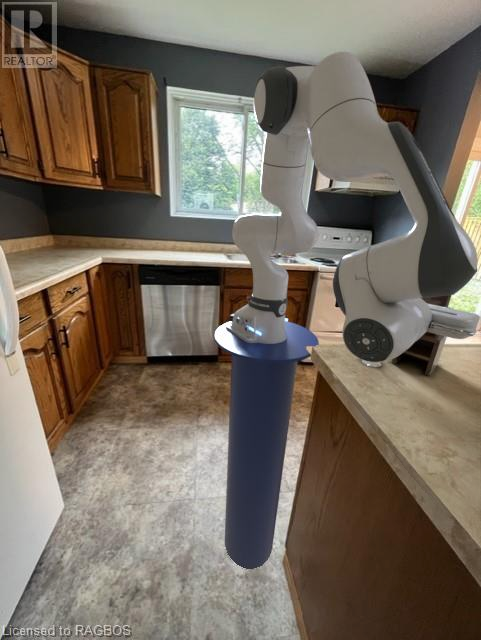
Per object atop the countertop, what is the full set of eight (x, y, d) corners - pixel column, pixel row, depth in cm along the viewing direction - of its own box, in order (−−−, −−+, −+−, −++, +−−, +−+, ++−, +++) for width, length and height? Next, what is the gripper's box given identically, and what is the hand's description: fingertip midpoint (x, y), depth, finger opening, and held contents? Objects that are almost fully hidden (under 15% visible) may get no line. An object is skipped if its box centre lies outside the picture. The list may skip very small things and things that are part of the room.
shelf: (391, 362, 75) (400, 329, 71) (401, 353, 81) (410, 322, 77) (428, 376, 69) (440, 340, 65) (437, 365, 75) (448, 331, 71)
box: (440, 332, 71) (455, 287, 67) (435, 336, 68) (450, 289, 64) (414, 325, 75) (426, 282, 71) (409, 329, 72) (421, 284, 68)
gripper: (480, 317, 41) (489, 302, 51) (351, 290, 55) (377, 282, 64) (466, 354, 44) (478, 333, 53) (345, 319, 57) (371, 307, 66)
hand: (422, 305), depth 59 cm, fingers open, 8 cm apart
